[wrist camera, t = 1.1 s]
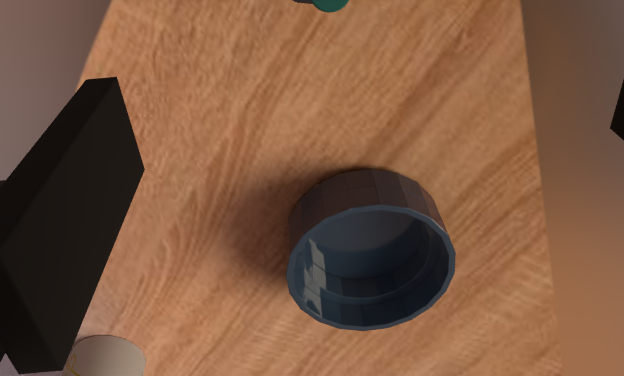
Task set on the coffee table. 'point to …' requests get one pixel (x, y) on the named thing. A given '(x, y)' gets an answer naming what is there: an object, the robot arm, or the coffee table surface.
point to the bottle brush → (329, 5)
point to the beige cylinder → (105, 358)
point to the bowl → (367, 251)
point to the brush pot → (303, 1)
